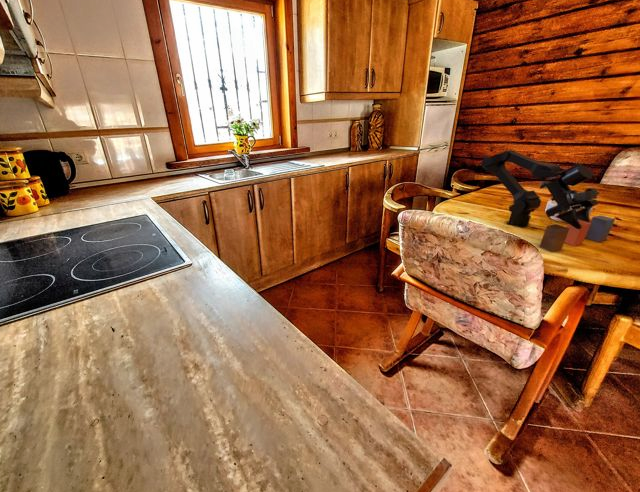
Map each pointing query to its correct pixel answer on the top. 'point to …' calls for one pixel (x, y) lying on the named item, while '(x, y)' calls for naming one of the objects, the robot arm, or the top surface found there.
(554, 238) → the walnut block
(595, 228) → the slate block
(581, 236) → the terracotta block
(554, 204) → the paper bowls
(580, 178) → the robot arm
